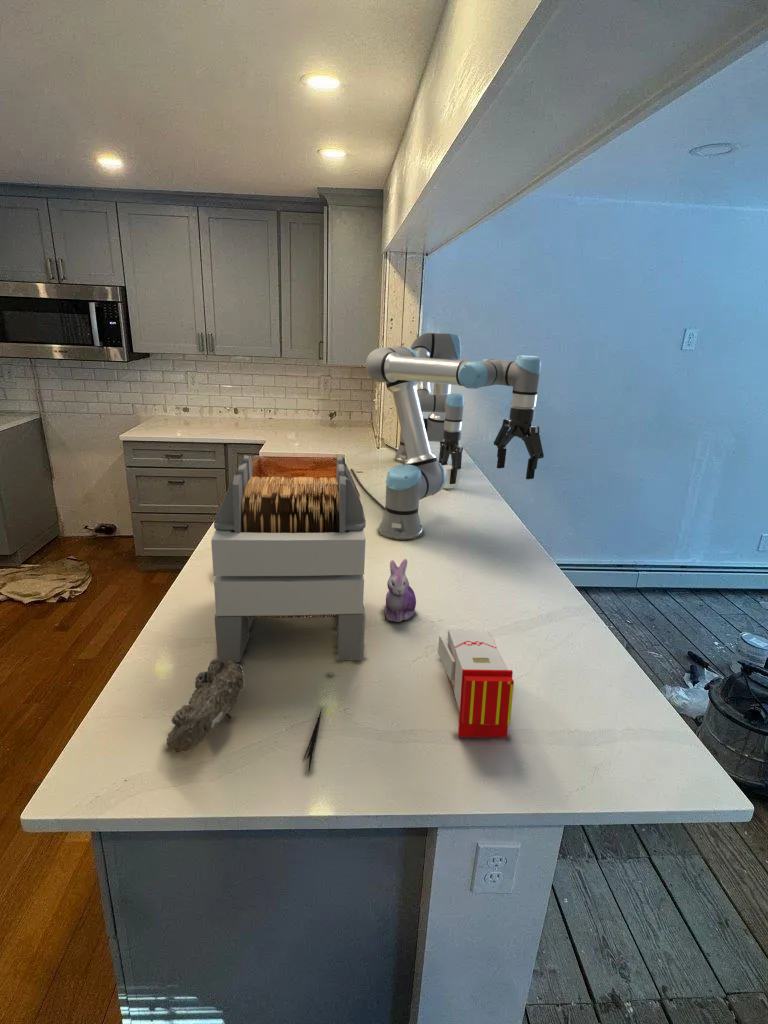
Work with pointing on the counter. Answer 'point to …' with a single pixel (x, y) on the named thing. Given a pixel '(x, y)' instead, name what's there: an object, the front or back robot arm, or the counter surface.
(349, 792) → the counter surface
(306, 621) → the counter surface
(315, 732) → the feather
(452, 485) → the block
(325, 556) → the record storage crate
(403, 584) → the figurine
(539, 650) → the counter surface
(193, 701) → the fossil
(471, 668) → the toy
